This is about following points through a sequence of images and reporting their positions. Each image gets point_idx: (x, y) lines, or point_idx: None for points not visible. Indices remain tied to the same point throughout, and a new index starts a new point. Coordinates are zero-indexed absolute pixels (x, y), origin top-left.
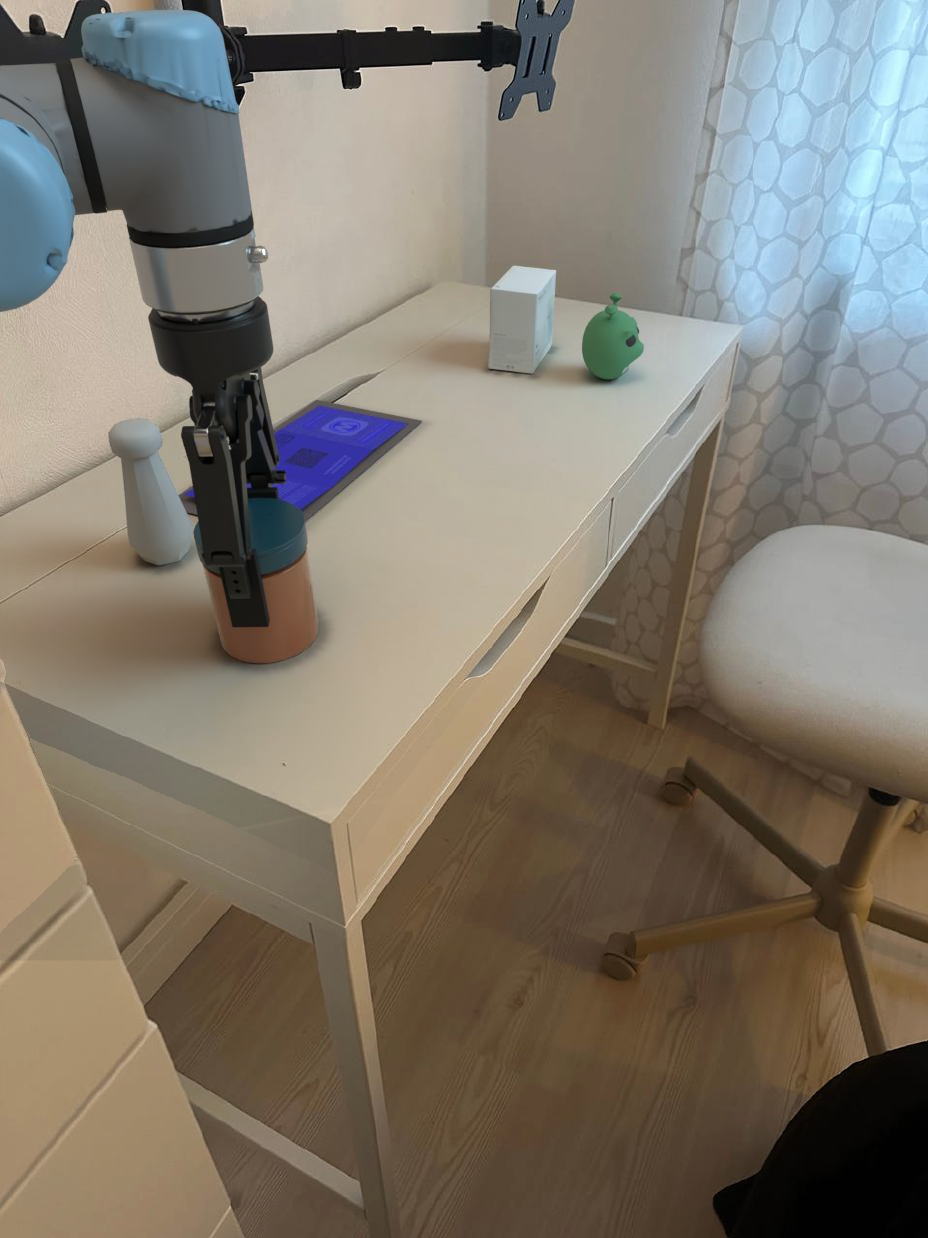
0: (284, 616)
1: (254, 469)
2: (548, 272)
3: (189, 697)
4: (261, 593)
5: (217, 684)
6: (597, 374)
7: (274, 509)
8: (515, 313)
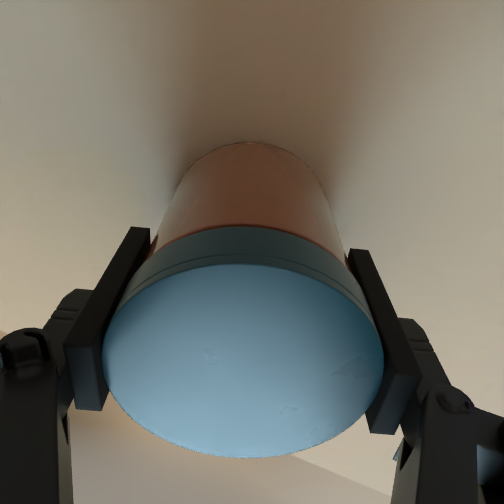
0: None
1: (406, 473)
2: None
3: (88, 105)
4: None
5: (123, 148)
6: None
7: (309, 416)
8: None
